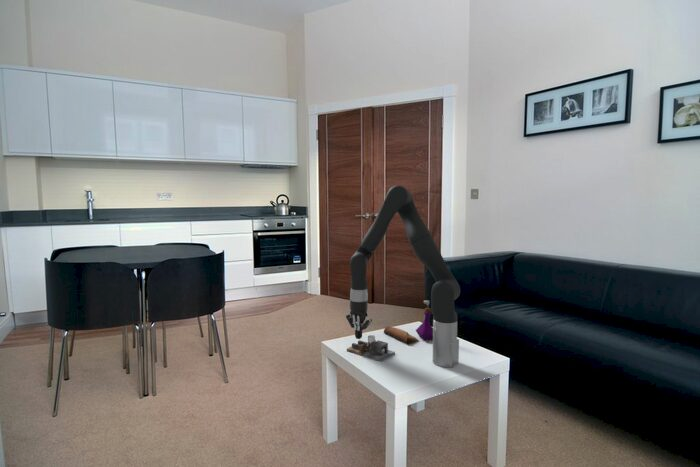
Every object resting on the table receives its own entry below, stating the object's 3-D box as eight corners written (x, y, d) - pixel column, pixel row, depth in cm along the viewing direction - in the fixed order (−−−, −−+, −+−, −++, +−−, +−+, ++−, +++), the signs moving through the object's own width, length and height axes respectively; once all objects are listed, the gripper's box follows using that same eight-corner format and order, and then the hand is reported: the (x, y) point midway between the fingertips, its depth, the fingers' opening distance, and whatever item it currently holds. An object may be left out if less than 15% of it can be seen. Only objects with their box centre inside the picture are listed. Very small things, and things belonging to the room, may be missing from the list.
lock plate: (394, 354, 164) (395, 342, 164) (381, 361, 157) (381, 349, 156) (360, 344, 176) (360, 333, 175) (346, 351, 168) (346, 339, 168)
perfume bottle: (437, 340, 180) (437, 302, 179) (422, 342, 178) (422, 303, 177) (429, 335, 188) (430, 298, 186) (415, 336, 186) (415, 299, 184)
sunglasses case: (421, 341, 179) (415, 330, 177) (411, 351, 176) (405, 340, 174) (397, 330, 195) (391, 320, 193) (387, 339, 192) (381, 329, 190)
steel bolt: (385, 352, 163) (385, 338, 163) (381, 354, 161) (381, 340, 160) (369, 347, 168) (369, 334, 168) (365, 349, 166) (365, 336, 165)
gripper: (376, 299, 167) (376, 339, 168) (352, 294, 175) (352, 332, 177) (366, 303, 161) (365, 344, 163) (341, 298, 169) (341, 337, 171)
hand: (358, 338), depth 170 cm, fingers closed
